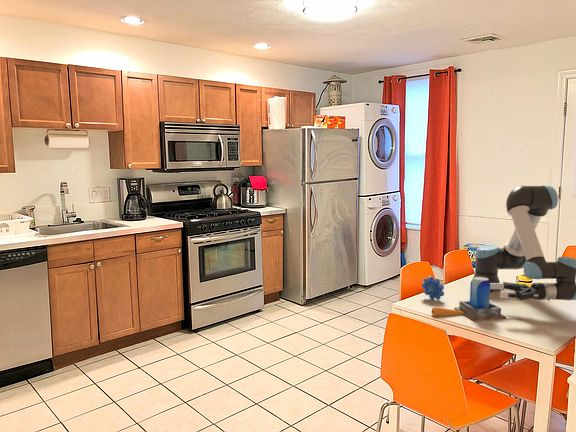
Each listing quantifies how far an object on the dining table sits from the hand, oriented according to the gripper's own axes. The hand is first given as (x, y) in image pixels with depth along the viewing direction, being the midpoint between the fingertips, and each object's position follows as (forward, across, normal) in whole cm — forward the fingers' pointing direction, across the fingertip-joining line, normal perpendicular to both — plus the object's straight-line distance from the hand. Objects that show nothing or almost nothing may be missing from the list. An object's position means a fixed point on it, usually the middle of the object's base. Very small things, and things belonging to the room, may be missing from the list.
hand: (494, 290), depth 206 cm
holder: (+6, 0, -12) cm, 13 cm away
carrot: (+18, -2, -12) cm, 22 cm away
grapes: (+23, +20, -12) cm, 33 cm away
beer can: (+6, 0, -11) cm, 12 cm away
